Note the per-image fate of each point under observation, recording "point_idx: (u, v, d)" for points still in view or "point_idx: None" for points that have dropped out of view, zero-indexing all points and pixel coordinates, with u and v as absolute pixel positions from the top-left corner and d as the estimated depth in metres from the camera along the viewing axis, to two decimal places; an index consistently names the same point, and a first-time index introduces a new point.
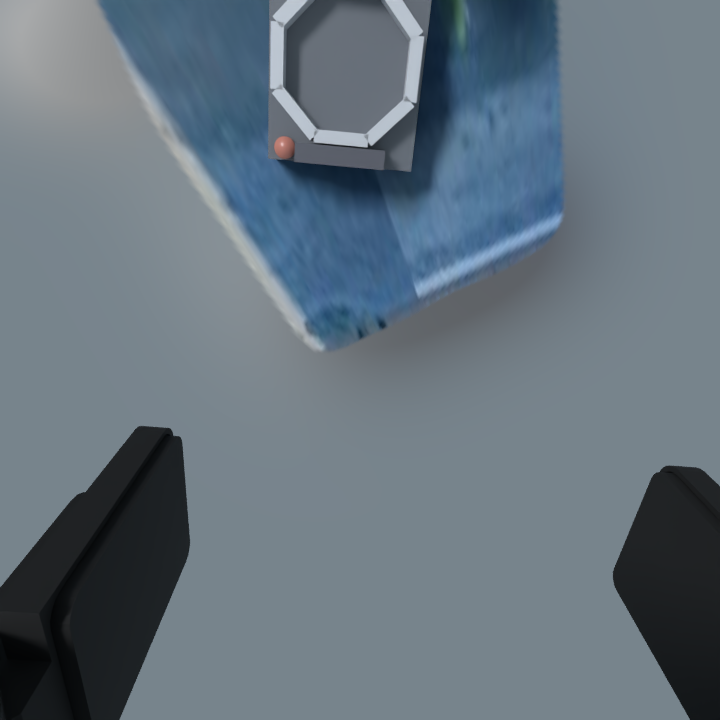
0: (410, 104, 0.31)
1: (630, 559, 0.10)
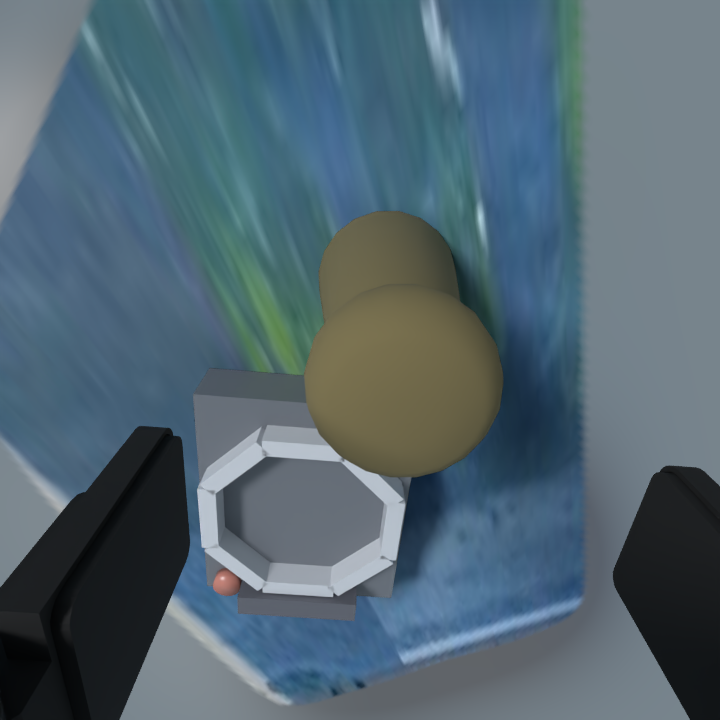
0: (388, 561, 0.24)
1: (630, 559, 0.10)
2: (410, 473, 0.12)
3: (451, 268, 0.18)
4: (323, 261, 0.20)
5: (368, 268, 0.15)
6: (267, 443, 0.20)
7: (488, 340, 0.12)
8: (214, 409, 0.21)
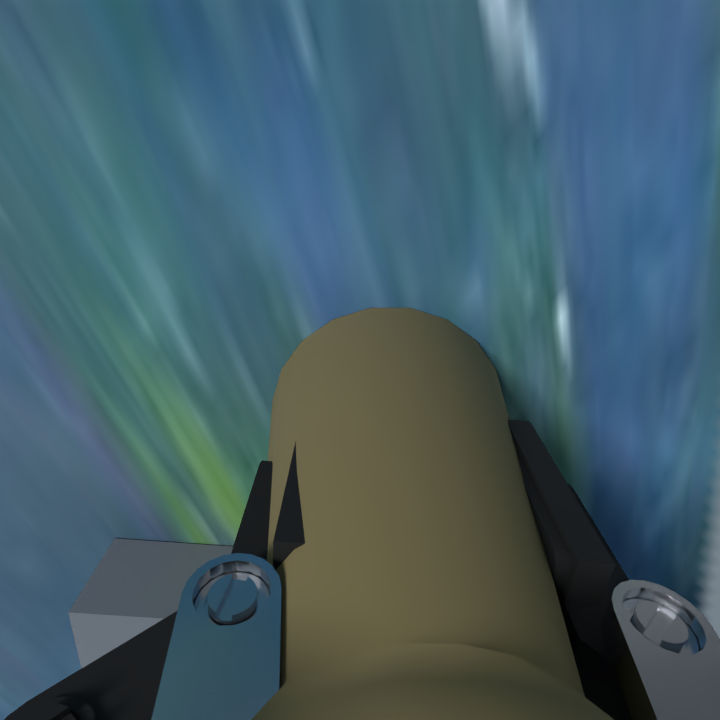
0: None
1: None
2: None
3: None
4: (277, 392, 0.12)
5: (348, 496, 0.07)
6: None
7: None
8: (107, 632, 0.12)
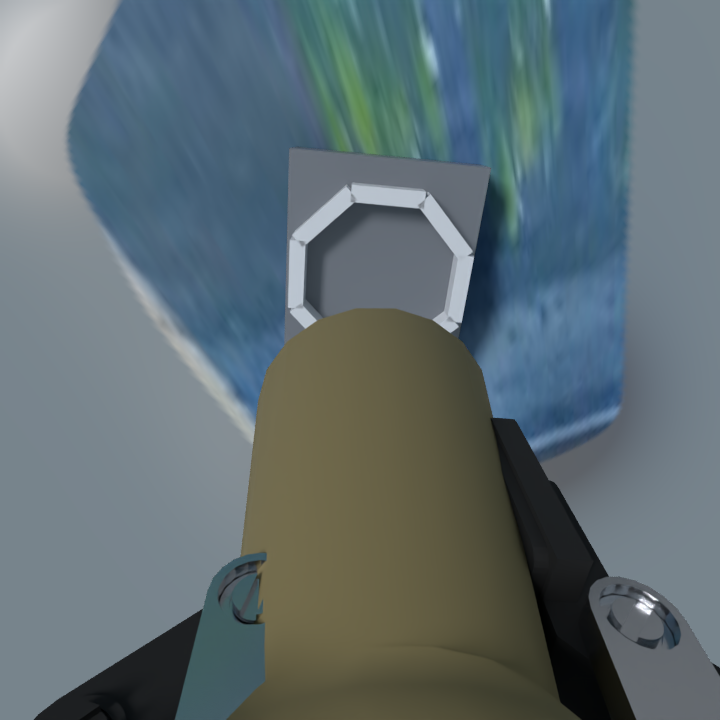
0: (454, 324, 0.26)
1: None
2: None
3: (494, 434, 0.09)
4: (262, 392, 0.12)
5: (327, 498, 0.07)
6: (356, 188, 0.23)
7: None
8: (306, 164, 0.24)
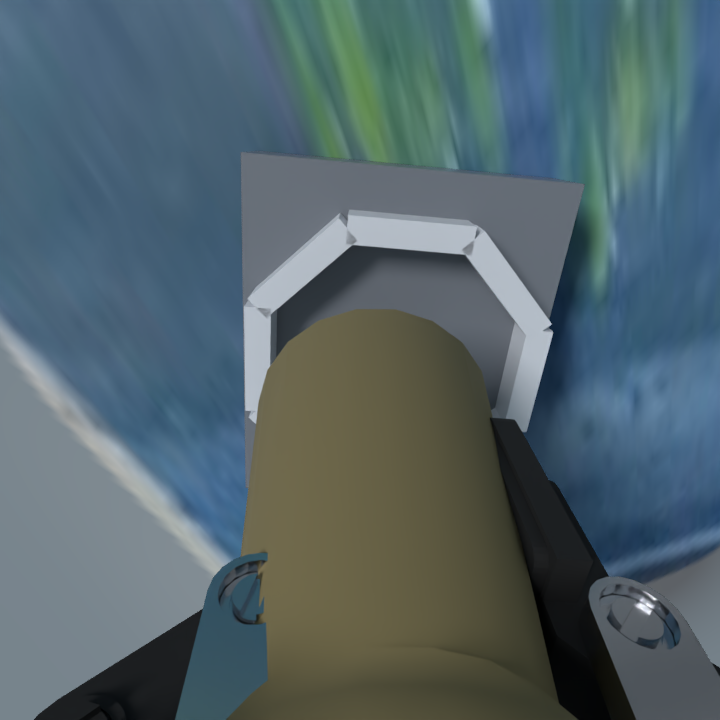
0: None
1: None
2: None
3: (494, 435, 0.10)
4: (263, 393, 0.12)
5: (327, 498, 0.07)
6: (356, 220, 0.13)
7: None
8: (271, 180, 0.14)
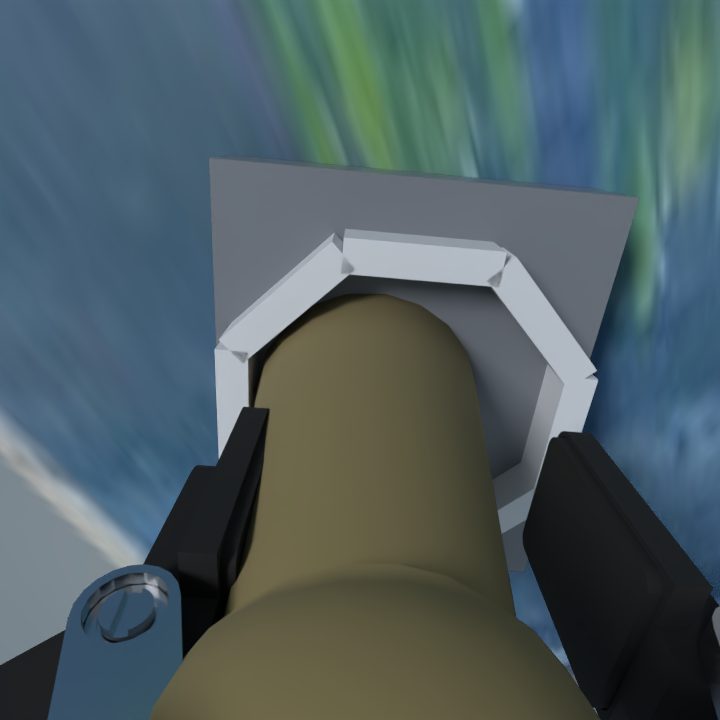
0: None
1: (533, 520, 0.10)
2: None
3: (473, 407, 0.10)
4: (261, 372, 0.12)
5: (313, 452, 0.07)
6: (354, 244, 0.11)
7: None
8: (248, 192, 0.11)
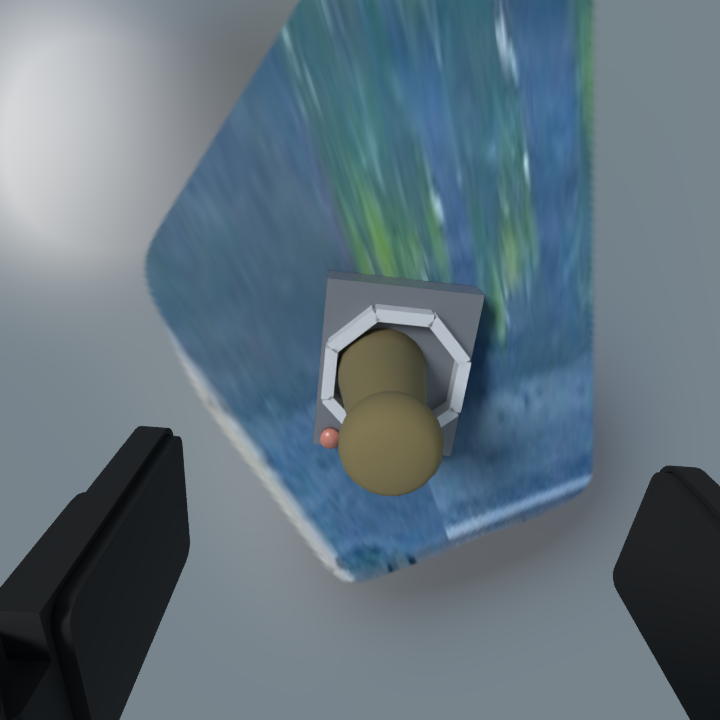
0: (454, 413, 0.32)
1: (630, 559, 0.10)
2: (394, 493, 0.23)
3: (421, 369, 0.29)
4: (341, 358, 0.31)
5: (372, 374, 0.26)
6: (380, 311, 0.30)
7: (435, 424, 0.23)
8: (340, 290, 0.30)
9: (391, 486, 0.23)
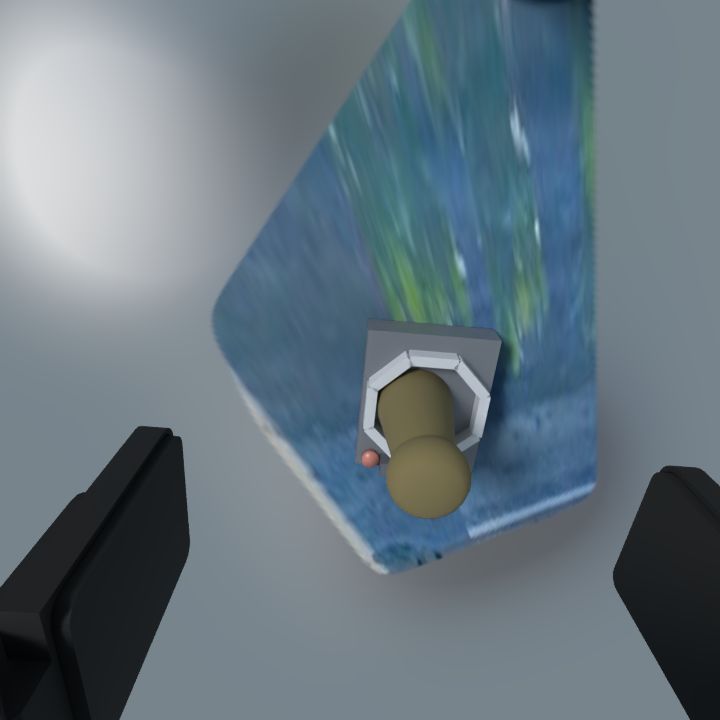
0: (476, 438, 0.38)
1: (630, 559, 0.10)
2: (432, 517, 0.29)
3: (449, 406, 0.35)
4: (380, 394, 0.37)
5: (410, 416, 0.32)
6: (413, 357, 0.35)
7: (464, 463, 0.29)
8: (379, 339, 0.36)
9: (430, 512, 0.29)
